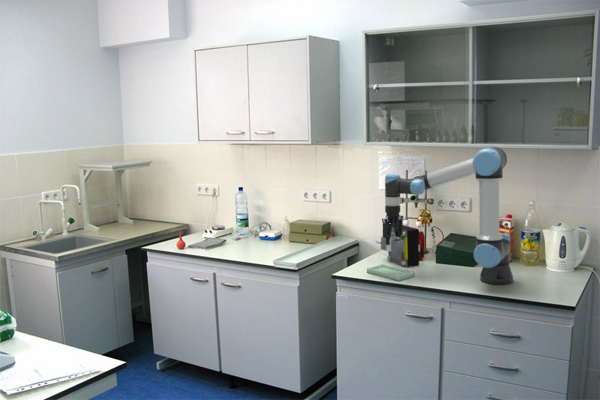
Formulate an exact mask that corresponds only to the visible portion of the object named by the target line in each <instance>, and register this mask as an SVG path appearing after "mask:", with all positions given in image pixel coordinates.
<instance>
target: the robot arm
mask: <svg viewBox="0 0 600 400" xmlns="http://www.w3.org/2000/svg"><path fill="white" fill-rule="evenodd" d="M507 163H508V156H507V154H506V152H505V150H504V149H502V148H500V147H497V146H492V147H488V148H487V147H486V148H482V149H480V150H479V151H478V152H477V153H475V154H474V156H473V158H472V157H471V158H470V159H467V160H464V161H461V162H459V163H458V162H457V163H454V164H452V165H449V166H446V167H443V168H440V169H437V170H435V171H432V172H428V173H425V174H422V175H420V176H417V177H412V178H401V175H400V174H399V173H388V174H386V175H385V176H384V178H385V179H384V200H385V201H384V203H385V205H384V208H385V209H384V212H385V213H386V216H385V218H382V219H381V221H382V237H383V238H386V251H387V252H389V251H390V252H391V239H390V237H391V231H392V226H394V231H395V236H394V238H397V239H400V237H401V236H402V234H403V225H404V224H403V221H404V215H400V212H401V195H402V194H403V195H404V194H405V195H414V196H416V195H423V193H424V192H425V191H427V190H430V189H432V188H435V187H439V186H441V185H445V184H449V183H452V182H455V181H457V180H462V179H464V178H468V177H470V176H471V177H472V176H474V175H475V180H476V181H477V182H478V189H479V190H478V195H479V197H478V198H479V200H478V202H479V203H478V205H479V206H478V207H479V209H478V210H479V213H478V214H479V217H478V219H479V220H478V221H479V223H478V225H479V234H478V235H476V238H475V241H476V242H475V246H476V247H475V248H474V250H473V258H474V261H475V262H476V263H477V264H478V266H481V267H482V269H481V271H480V275H479V279H480V282H482V283H485V284H490V285H508V284H512V283H514V275H513V271H512V269H511V265H510V264H511V263H510V259H511V258H510V257H511V236H510V235H509V234H506V233H500V181H501V180H502V179H503V177H504V176H503V173H504V171H503V169H504V168H505V167H506V166H507Z"/></svg>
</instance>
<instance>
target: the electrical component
mask: <svg viewBox="0 0 600 400" xmlns="http://www.w3.org/2000/svg"><path fill="white" fill-rule="evenodd" d="M394 236H395V231H394V226H392V231H391V237H392V238H394ZM400 239H401V240H404V253H393V252H389V251H388V253H389V254H388V256H386V258H387V261H390V262H392V263H395V264H397V265H401V266H403V267H406V268H411V267H417V266H420V229H419V228H416V227H412V226H407V225H404V224H403V234H402V236H401V237H400Z"/></svg>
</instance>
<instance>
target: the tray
mask: <svg viewBox="0 0 600 400" xmlns="http://www.w3.org/2000/svg"><path fill="white" fill-rule="evenodd" d="M366 273H367V274H371V275H373V276H377V277H381V278H385V279H389V280H392V281H396V282H402V281H405V280H409V279H411V278H415V277H416V272H415V271H413V270H410V269H409V270H408V269H405V268H401V267H396V266H393V265H388V264H384V263H382V264H379V265H374V266H371V267H367V268H366Z"/></svg>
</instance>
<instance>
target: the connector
mask: <svg viewBox="0 0 600 400" xmlns="http://www.w3.org/2000/svg"><path fill="white" fill-rule="evenodd" d="M390 239H391V252H393V253H404V240H401V239H397V238H392V237H390ZM375 244H377V245H380V250H382V251H386V238H383V236H380V239H378V240H375ZM389 252H390V251H388V253H389Z"/></svg>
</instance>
